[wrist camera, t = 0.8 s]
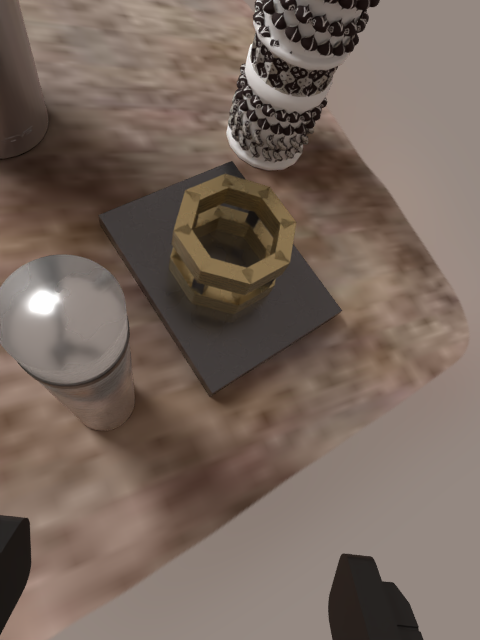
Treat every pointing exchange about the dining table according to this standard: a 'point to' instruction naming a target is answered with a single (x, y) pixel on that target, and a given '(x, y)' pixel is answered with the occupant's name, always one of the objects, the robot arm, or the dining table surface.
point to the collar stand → (220, 271)
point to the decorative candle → (290, 75)
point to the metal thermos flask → (71, 336)
